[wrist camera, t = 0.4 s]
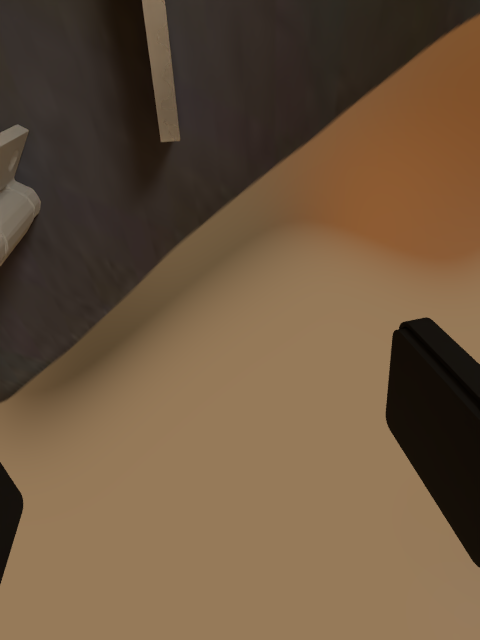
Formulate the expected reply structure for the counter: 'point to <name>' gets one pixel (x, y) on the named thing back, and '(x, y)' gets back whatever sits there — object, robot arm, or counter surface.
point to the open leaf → (161, 68)
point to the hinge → (14, 192)
